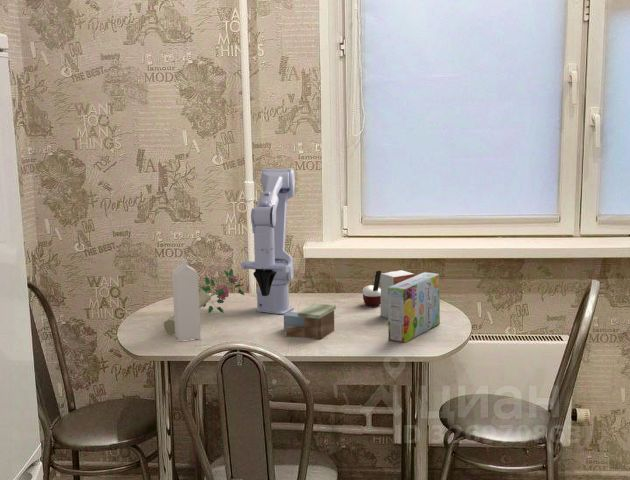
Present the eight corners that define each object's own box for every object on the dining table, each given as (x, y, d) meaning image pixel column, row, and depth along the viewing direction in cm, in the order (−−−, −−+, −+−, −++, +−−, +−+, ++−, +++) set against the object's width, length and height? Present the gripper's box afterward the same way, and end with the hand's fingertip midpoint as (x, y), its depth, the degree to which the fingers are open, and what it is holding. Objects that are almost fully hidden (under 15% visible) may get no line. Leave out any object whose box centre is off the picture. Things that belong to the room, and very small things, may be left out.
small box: (393, 320, 233) (393, 277, 231) (380, 315, 238) (380, 273, 236) (414, 315, 237) (414, 273, 235) (400, 311, 243) (401, 269, 240)
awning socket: (284, 336, 219) (284, 311, 218) (303, 325, 229) (302, 301, 228) (319, 340, 214) (318, 315, 213) (336, 329, 224) (336, 305, 223)
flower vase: (167, 357, 225) (220, 301, 256) (201, 350, 220) (251, 294, 250) (149, 321, 222) (205, 269, 253) (184, 313, 217) (236, 261, 247)
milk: (179, 342, 215) (174, 262, 211) (175, 335, 220) (170, 258, 216) (201, 339, 217) (197, 260, 213) (196, 333, 223) (192, 256, 218)
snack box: (423, 321, 231) (423, 271, 228) (440, 324, 228) (441, 273, 225) (386, 340, 214) (386, 286, 211) (405, 343, 211) (405, 288, 208)
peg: (284, 332, 223) (283, 315, 222) (289, 328, 226) (289, 311, 226) (316, 336, 219) (316, 318, 218) (322, 332, 223) (321, 315, 222)
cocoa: (363, 303, 254) (361, 266, 253) (382, 302, 254) (381, 265, 252) (363, 309, 245) (361, 271, 243) (383, 309, 244) (382, 270, 243)
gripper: (235, 249, 223) (236, 295, 226) (280, 252, 217) (281, 300, 219) (247, 244, 229) (249, 290, 232) (292, 248, 223) (293, 295, 226)
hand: (265, 295), depth 226 cm, fingers closed
